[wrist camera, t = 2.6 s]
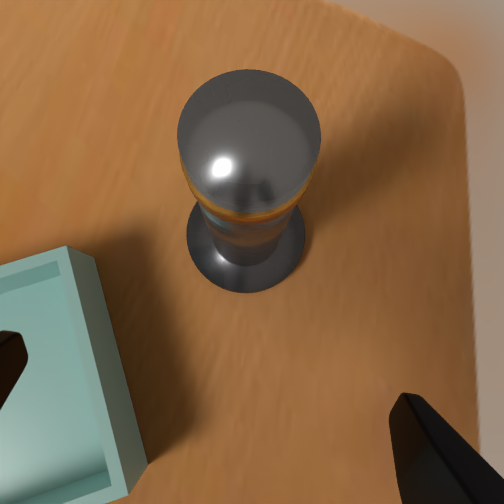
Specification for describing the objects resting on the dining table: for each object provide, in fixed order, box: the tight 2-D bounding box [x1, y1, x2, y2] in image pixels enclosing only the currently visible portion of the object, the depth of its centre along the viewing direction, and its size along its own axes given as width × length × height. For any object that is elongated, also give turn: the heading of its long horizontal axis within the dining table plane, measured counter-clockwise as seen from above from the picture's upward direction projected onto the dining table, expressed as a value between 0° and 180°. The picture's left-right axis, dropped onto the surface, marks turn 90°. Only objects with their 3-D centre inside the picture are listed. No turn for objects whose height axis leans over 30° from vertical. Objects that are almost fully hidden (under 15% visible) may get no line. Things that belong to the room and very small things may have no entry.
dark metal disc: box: [187, 201, 305, 293], centre depth 23 cm, size 7×7×1 cm
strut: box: [177, 69, 321, 267], centre depth 16 cm, size 4×4×12 cm
